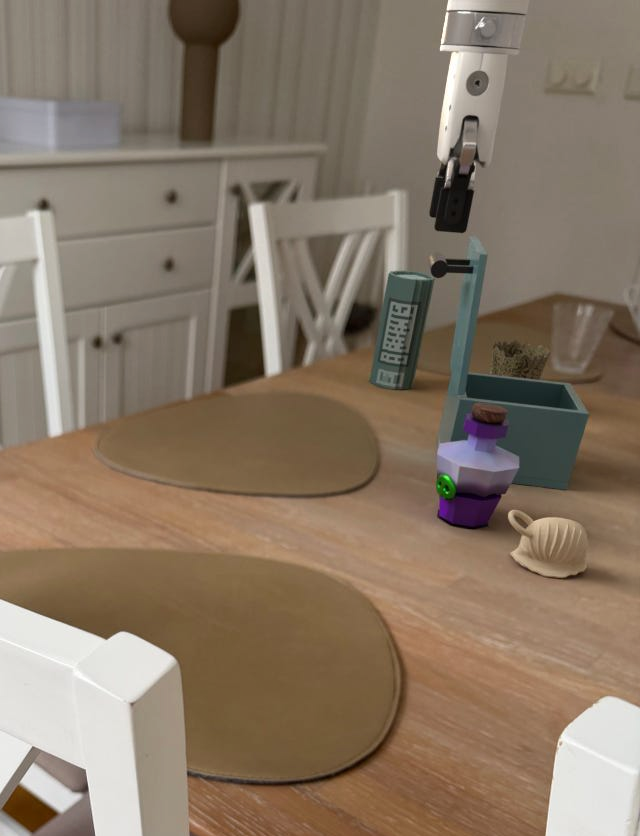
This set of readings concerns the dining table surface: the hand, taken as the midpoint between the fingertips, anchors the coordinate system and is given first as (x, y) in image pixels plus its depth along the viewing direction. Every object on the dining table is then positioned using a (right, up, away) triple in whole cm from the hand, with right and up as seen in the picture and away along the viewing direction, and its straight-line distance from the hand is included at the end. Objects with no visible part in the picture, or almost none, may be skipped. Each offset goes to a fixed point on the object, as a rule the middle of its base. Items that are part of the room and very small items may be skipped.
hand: (446, 224), depth 104 cm
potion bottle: (+1, -32, -2) cm, 32 cm away
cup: (+18, -11, +33) cm, 39 cm away
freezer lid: (+4, -8, +4) cm, 10 cm away
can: (+3, -7, +38) cm, 39 cm away
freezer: (+10, -23, +12) cm, 28 cm away
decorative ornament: (+6, -37, -11) cm, 39 cm away
